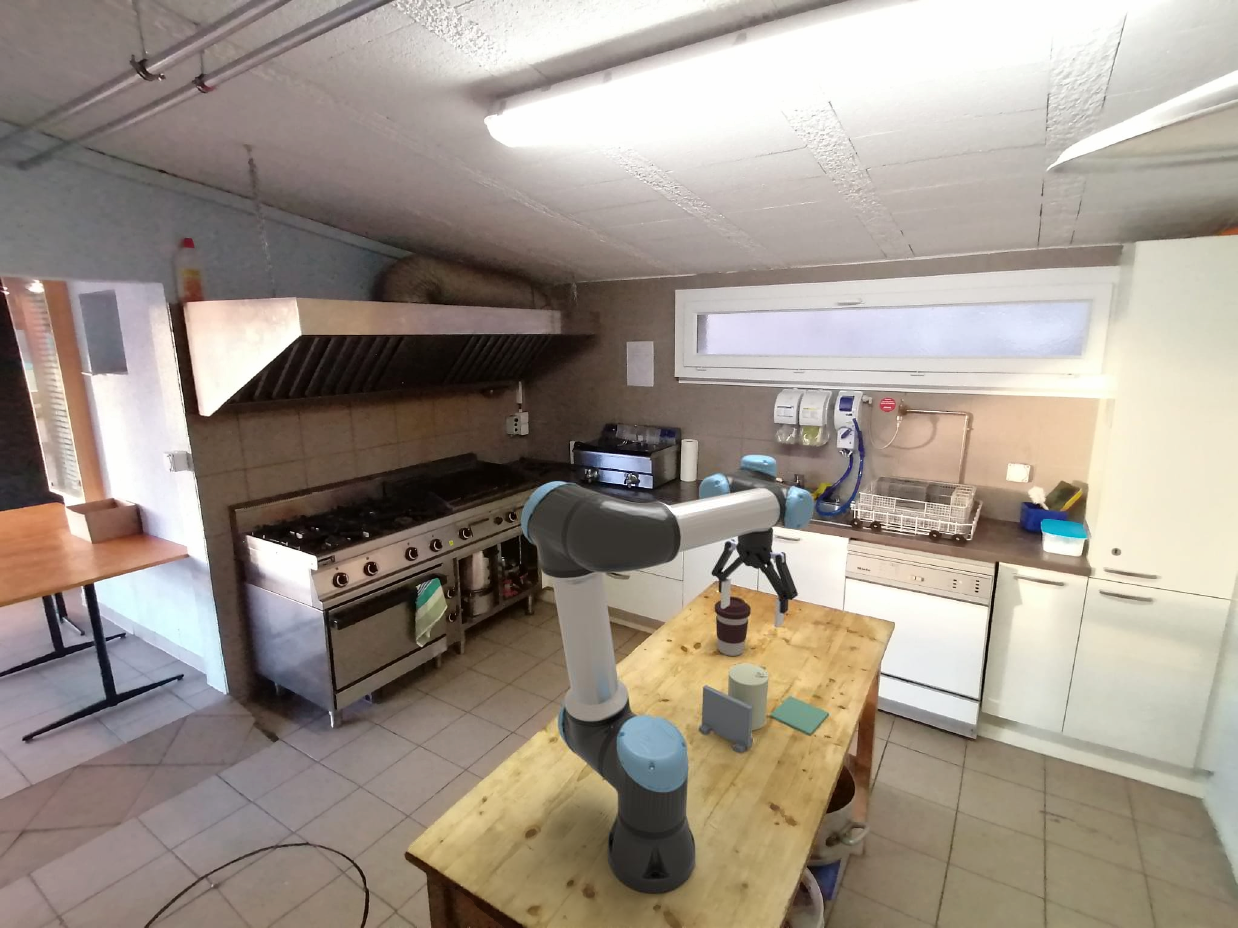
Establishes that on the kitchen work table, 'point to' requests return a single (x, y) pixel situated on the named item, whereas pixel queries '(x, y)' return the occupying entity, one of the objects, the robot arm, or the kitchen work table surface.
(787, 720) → the mat
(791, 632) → the kitchen work table surface
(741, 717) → the screen
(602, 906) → the kitchen work table surface
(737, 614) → the coffee cup
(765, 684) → the can
